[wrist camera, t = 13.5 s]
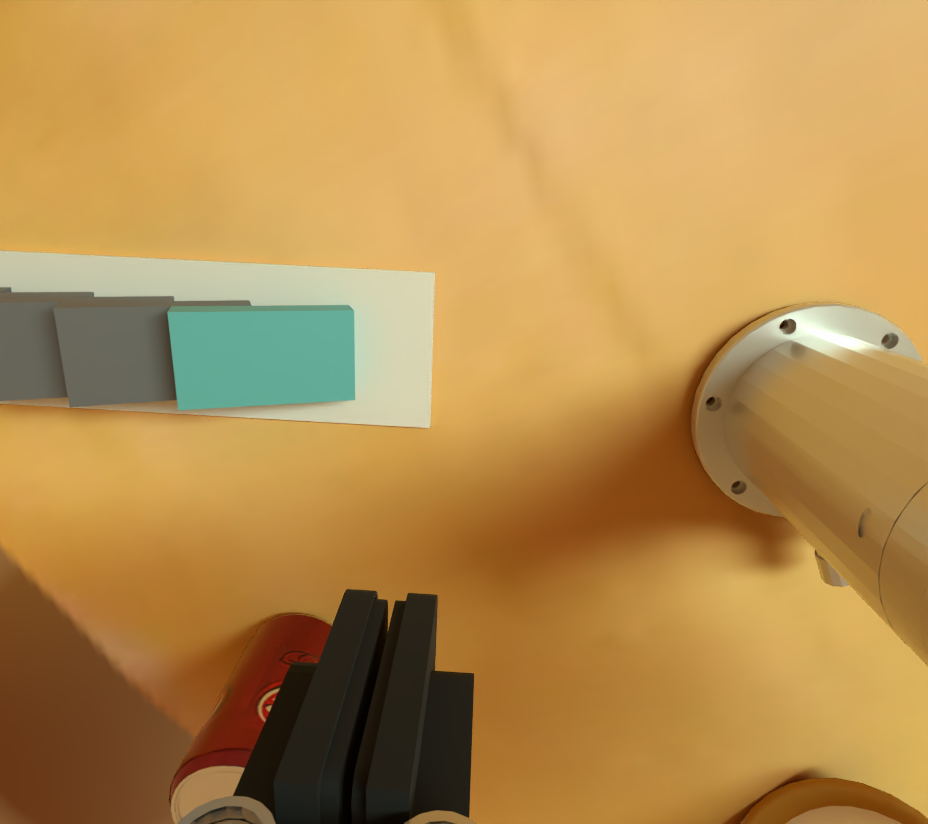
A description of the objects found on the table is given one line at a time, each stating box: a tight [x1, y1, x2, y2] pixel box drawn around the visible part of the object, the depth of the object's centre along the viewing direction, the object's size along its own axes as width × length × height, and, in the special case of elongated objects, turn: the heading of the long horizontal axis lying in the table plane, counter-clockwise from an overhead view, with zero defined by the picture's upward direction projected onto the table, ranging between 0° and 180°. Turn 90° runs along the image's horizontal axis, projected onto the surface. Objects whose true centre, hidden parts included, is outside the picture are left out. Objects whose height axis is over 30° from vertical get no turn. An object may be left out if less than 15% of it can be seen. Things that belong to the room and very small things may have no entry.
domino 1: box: [0, 296, 174, 401], centre depth 33 cm, size 2×5×9 cm
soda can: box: [169, 614, 332, 824], centre depth 36 cm, size 7×7×12 cm
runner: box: [0, 250, 435, 428], centre depth 35 cm, size 30×9×1 cm, turn 87°
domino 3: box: [167, 305, 355, 410], centre depth 33 cm, size 2×5×9 cm
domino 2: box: [53, 300, 252, 407], centre depth 33 cm, size 2×5×9 cm
